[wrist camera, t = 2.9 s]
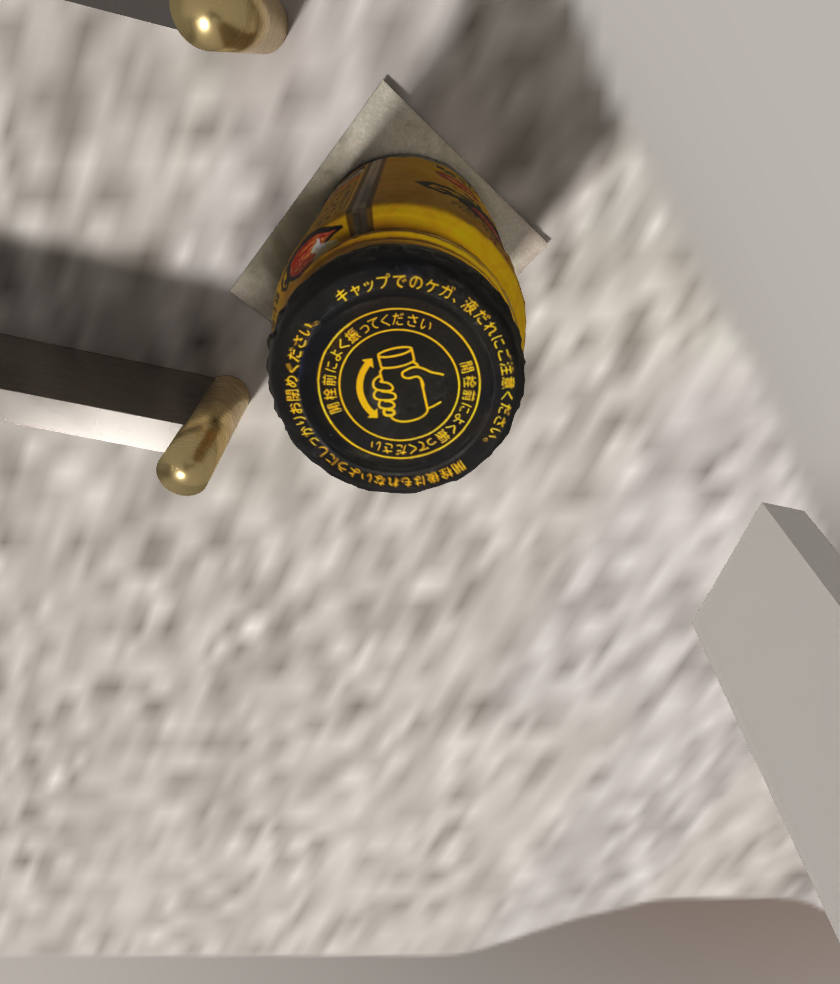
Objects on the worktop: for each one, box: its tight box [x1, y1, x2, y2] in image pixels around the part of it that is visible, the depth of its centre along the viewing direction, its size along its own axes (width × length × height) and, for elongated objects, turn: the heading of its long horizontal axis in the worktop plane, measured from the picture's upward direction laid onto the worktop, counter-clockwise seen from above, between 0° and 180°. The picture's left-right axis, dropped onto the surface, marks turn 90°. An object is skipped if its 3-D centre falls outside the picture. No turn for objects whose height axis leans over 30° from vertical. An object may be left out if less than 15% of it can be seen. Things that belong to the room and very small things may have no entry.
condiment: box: [230, 80, 548, 493], centre depth 19 cm, size 7×8×12 cm
